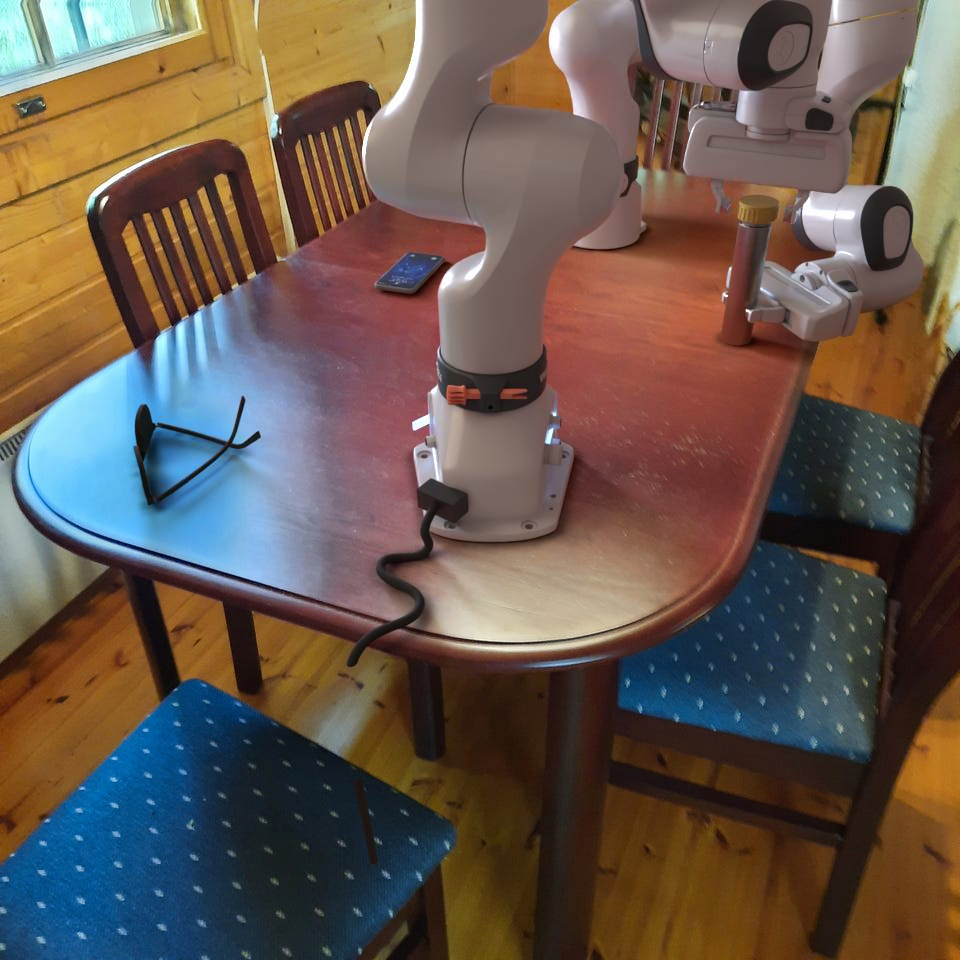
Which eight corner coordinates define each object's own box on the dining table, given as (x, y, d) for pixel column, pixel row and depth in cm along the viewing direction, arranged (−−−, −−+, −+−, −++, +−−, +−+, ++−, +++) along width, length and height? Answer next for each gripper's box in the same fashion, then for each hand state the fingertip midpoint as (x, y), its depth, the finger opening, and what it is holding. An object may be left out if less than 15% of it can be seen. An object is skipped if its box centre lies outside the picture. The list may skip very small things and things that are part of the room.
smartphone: (447, 255, 148) (413, 290, 136) (447, 261, 148) (413, 296, 137) (407, 250, 150) (371, 284, 138) (407, 255, 150) (371, 290, 139)
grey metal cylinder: (715, 340, 123) (736, 209, 111) (727, 329, 125) (749, 200, 114) (743, 348, 121) (767, 215, 109) (755, 337, 123) (779, 206, 112)
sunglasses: (270, 486, 97) (262, 449, 94) (137, 510, 94) (125, 474, 91) (257, 411, 110) (250, 377, 107) (140, 430, 107) (130, 396, 104)
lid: (733, 210, 115) (736, 194, 113) (772, 210, 114) (775, 194, 113) (739, 224, 111) (742, 207, 109) (780, 224, 110) (783, 207, 109)
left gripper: (683, 103, 106) (671, 214, 114) (858, 119, 98) (831, 236, 107) (697, 92, 110) (684, 199, 119) (865, 107, 103) (839, 220, 111)
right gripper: (778, 245, 129) (698, 259, 126) (871, 298, 114) (784, 316, 110) (771, 284, 133) (693, 299, 130) (860, 341, 118) (775, 359, 114)
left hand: (755, 217), depth 113 cm, fingers open, 7 cm apart
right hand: (735, 307), depth 120 cm, fingers closed on grey metal cylinder, 4 cm apart
